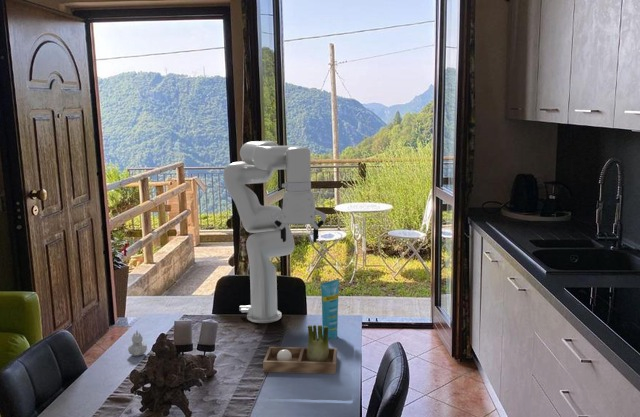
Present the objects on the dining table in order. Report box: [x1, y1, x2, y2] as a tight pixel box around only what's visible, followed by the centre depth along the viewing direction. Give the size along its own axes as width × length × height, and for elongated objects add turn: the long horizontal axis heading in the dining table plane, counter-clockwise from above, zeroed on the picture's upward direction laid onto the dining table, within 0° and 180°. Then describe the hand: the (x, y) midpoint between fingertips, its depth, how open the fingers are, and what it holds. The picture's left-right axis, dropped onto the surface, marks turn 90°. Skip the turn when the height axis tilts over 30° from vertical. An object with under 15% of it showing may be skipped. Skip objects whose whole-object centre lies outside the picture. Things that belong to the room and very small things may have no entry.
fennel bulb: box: [307, 324, 330, 362], centre depth 160 cm, size 6×5×12 cm
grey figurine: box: [128, 330, 148, 357], centre depth 169 cm, size 5×7×8 cm
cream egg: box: [277, 349, 292, 361], centre depth 161 cm, size 4×4×4 cm
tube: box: [320, 278, 340, 340], centre depth 182 cm, size 7×5×19 cm, turn 134°
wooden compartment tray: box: [262, 346, 338, 375], centre depth 161 cm, size 20×11×4 cm, turn 86°
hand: (299, 241), depth 174 cm, fingers open, 9 cm apart
